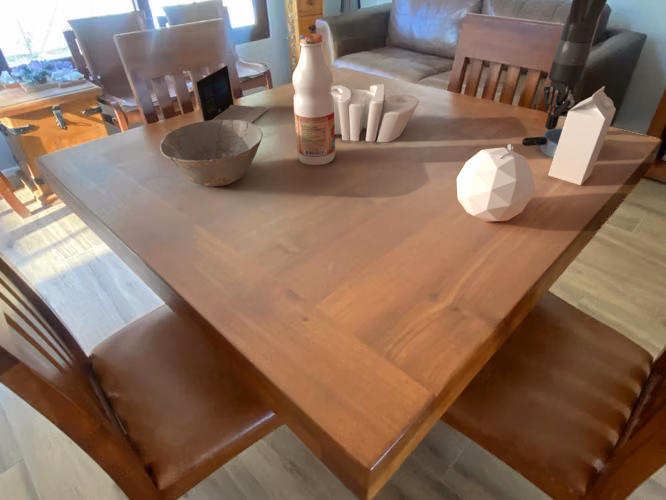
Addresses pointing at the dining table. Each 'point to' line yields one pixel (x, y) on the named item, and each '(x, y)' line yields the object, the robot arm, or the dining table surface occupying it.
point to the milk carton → (582, 138)
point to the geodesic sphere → (495, 184)
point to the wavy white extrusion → (371, 113)
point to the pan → (545, 141)
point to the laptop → (222, 99)
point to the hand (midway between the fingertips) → (549, 128)
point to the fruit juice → (313, 104)
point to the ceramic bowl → (213, 150)
